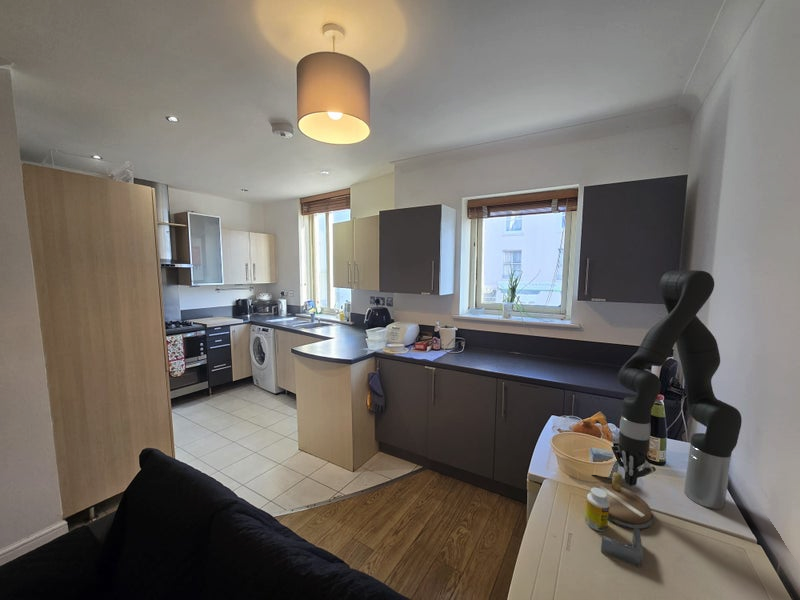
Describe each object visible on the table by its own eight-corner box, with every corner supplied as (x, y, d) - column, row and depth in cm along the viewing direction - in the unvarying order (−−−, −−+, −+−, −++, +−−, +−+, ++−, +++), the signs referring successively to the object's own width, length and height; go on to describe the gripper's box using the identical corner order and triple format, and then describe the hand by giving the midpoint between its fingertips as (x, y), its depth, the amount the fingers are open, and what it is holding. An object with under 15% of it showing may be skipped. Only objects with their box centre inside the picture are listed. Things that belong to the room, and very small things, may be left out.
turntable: (580, 494, 102) (582, 476, 101) (612, 482, 107) (613, 465, 106) (629, 531, 88) (631, 511, 87) (662, 515, 93) (664, 496, 93)
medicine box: (613, 472, 114) (615, 450, 113) (617, 481, 110) (619, 458, 109) (588, 468, 116) (590, 446, 115) (591, 475, 112) (593, 453, 111)
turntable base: (617, 485, 107) (617, 483, 107) (666, 524, 92) (667, 521, 92) (577, 494, 104) (578, 491, 103) (622, 535, 88) (622, 532, 88)
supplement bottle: (601, 535, 88) (604, 502, 87) (581, 521, 93) (583, 490, 91) (610, 526, 91) (614, 494, 90) (590, 513, 96) (593, 482, 94)
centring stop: (634, 539, 87) (636, 526, 86) (659, 561, 80) (660, 547, 80) (598, 549, 84) (599, 535, 83) (620, 572, 78) (622, 558, 77)
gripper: (666, 442, 91) (661, 496, 93) (624, 419, 104) (620, 468, 106) (646, 446, 89) (641, 502, 91) (605, 423, 102) (602, 472, 104)
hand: (630, 483), depth 99 cm, fingers closed
